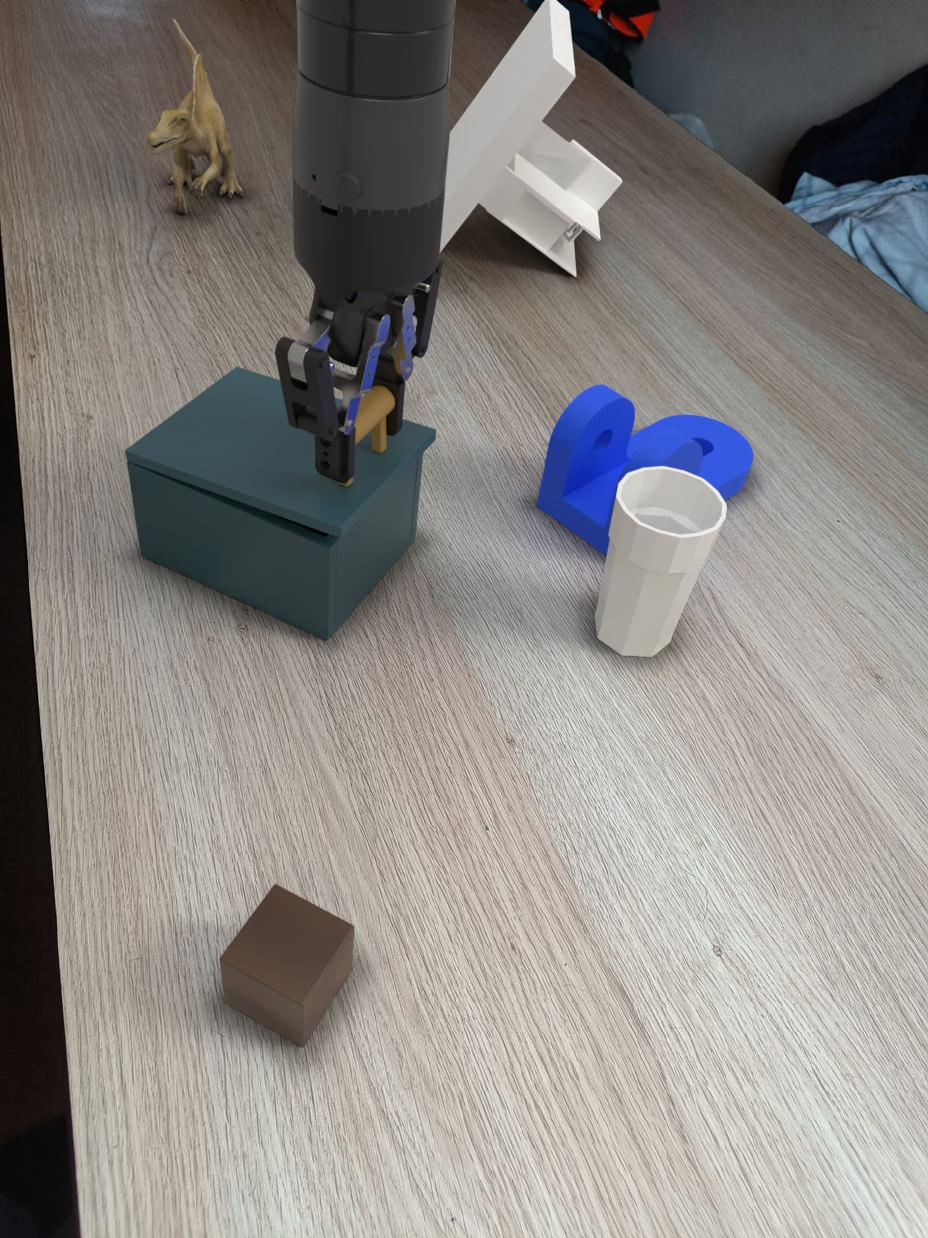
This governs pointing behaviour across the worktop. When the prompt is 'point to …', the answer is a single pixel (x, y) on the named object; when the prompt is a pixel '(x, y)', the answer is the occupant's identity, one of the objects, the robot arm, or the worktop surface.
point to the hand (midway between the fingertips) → (359, 451)
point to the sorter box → (273, 547)
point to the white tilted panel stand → (527, 149)
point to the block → (287, 964)
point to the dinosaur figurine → (195, 136)
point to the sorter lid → (278, 452)
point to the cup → (655, 556)
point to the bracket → (628, 458)
